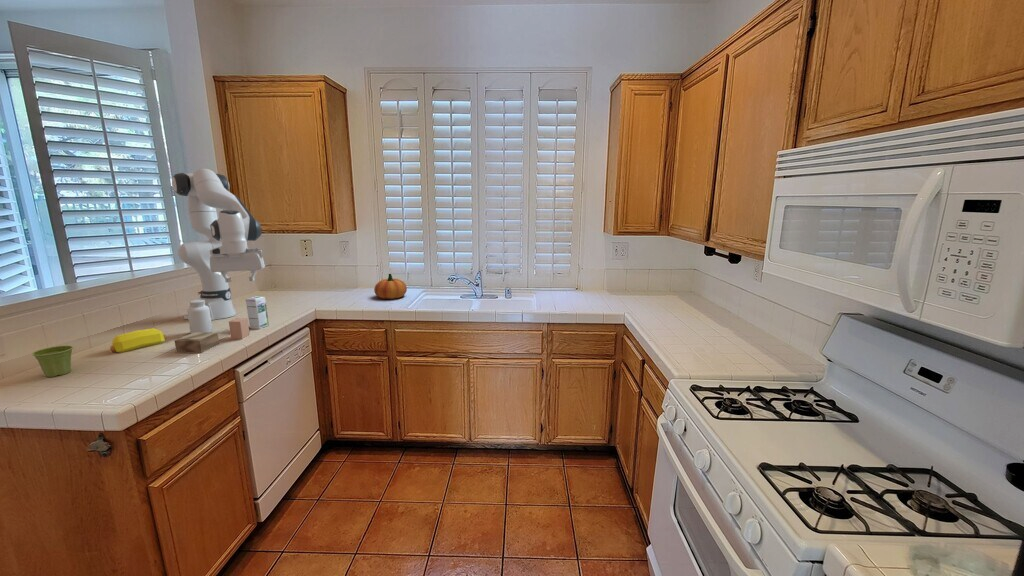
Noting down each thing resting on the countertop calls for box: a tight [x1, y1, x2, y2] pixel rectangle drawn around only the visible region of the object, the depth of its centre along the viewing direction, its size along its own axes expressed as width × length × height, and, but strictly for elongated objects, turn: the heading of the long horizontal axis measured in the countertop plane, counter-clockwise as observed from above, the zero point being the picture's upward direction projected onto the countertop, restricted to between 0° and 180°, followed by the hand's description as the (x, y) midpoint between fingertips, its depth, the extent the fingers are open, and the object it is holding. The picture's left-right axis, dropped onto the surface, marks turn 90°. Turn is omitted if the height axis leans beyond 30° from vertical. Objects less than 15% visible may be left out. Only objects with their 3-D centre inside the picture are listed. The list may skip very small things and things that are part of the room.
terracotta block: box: [228, 317, 251, 340], centre depth 180 cm, size 5×5×8 cm
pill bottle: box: [186, 299, 213, 334], centre depth 184 cm, size 8×8×15 cm
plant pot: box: [31, 345, 74, 378], centre depth 141 cm, size 9×9×9 cm
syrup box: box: [245, 295, 270, 330], centre depth 194 cm, size 6×6×14 cm
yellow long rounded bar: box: [109, 327, 167, 353], centre depth 168 cm, size 18×7×8 cm
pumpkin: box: [373, 273, 408, 300], centre depth 256 cm, size 19×19×15 cm
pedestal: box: [174, 332, 220, 354], centre depth 166 cm, size 10×10×5 cm
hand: (240, 281), depth 175 cm, fingers open, 8 cm apart
